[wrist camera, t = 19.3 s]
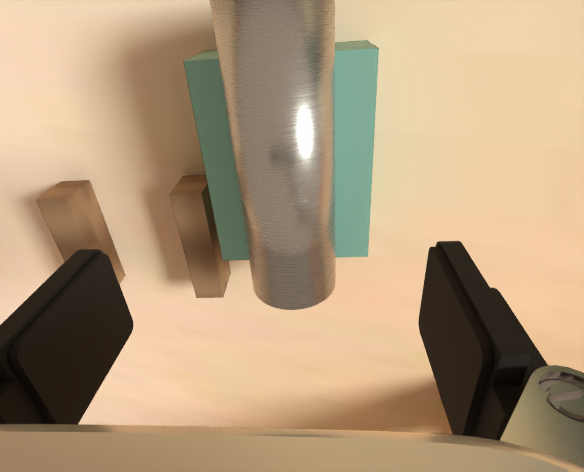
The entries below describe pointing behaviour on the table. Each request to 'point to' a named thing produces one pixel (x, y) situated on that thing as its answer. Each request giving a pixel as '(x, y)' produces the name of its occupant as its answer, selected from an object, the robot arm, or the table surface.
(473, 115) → the table surface
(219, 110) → the teal V-block
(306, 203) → the steel axle
